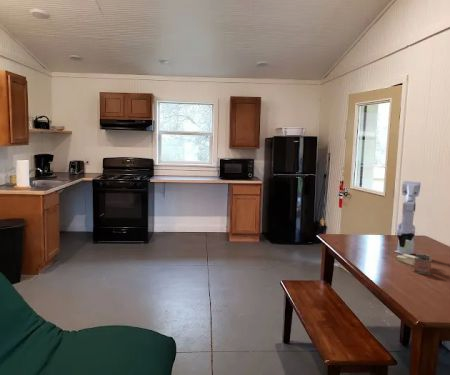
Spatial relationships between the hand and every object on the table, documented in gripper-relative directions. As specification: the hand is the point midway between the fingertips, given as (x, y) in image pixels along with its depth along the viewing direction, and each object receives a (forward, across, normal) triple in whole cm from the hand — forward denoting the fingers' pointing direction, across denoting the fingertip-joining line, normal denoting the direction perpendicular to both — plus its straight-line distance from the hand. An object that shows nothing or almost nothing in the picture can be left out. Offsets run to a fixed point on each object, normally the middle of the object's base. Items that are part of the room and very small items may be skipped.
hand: (404, 246), depth 220 cm
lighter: (+9, +10, +17) cm, 21 cm away
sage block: (+1, 0, 0) cm, 1 cm away
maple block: (+9, -2, +3) cm, 9 cm away
